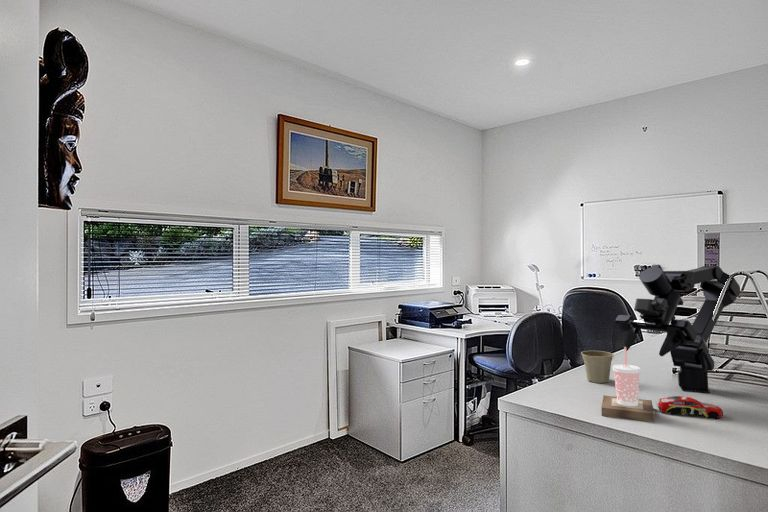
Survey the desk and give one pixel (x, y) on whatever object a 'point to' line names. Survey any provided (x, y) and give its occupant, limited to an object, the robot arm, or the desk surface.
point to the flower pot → (597, 365)
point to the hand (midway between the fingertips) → (642, 352)
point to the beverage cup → (626, 383)
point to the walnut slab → (628, 409)
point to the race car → (689, 407)
